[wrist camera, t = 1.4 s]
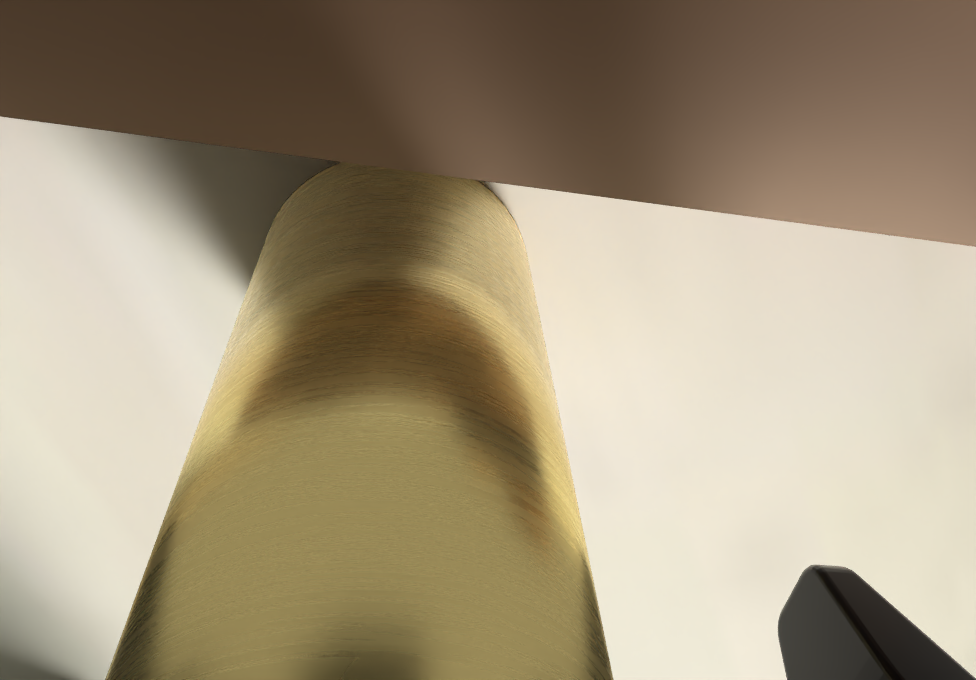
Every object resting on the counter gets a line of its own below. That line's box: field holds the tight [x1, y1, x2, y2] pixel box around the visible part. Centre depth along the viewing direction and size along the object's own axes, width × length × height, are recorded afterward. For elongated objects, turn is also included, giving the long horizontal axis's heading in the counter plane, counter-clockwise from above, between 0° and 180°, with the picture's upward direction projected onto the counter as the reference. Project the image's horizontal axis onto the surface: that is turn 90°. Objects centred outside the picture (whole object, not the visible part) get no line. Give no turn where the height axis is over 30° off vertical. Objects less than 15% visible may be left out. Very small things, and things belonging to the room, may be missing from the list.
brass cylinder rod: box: [105, 162, 613, 680], centre depth 9 cm, size 4×4×8 cm
